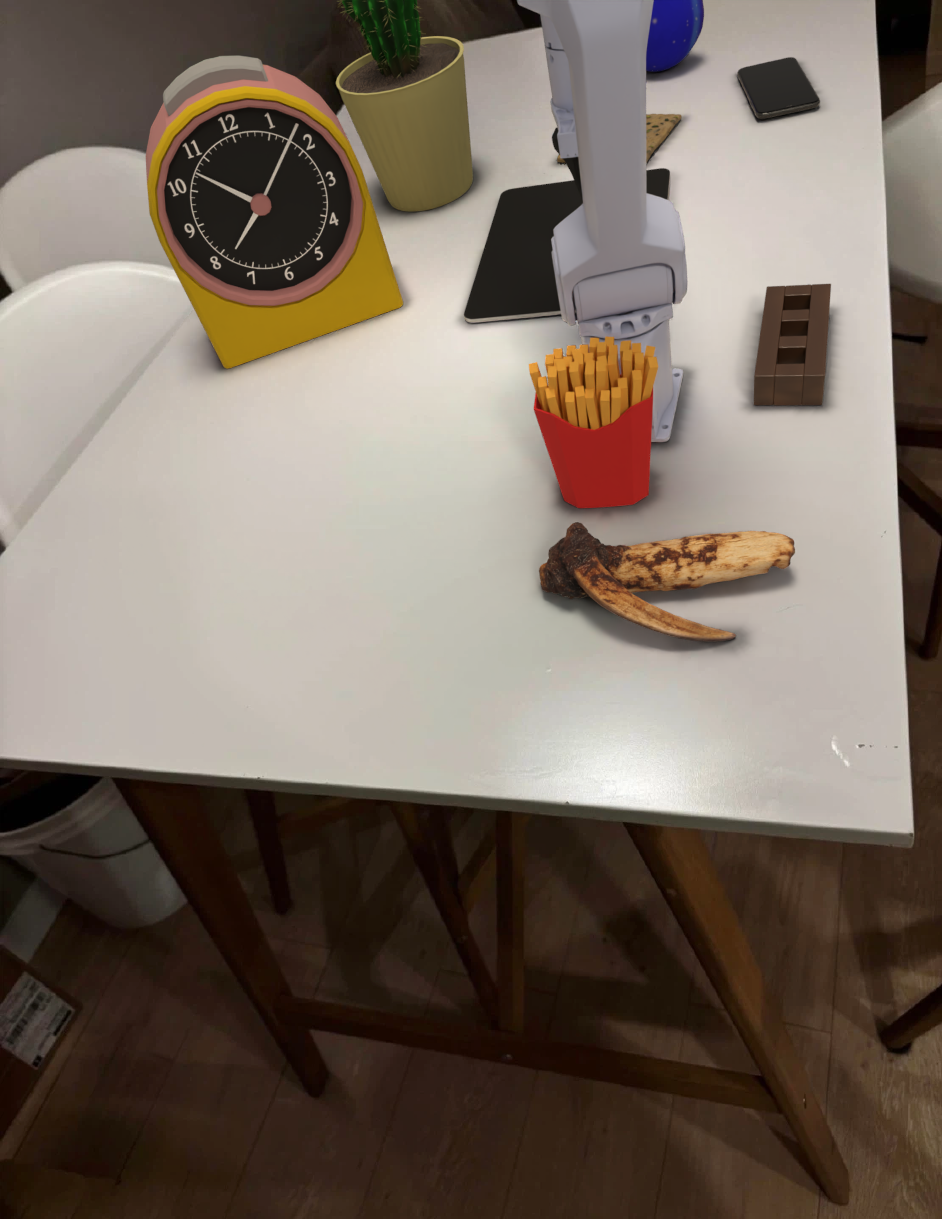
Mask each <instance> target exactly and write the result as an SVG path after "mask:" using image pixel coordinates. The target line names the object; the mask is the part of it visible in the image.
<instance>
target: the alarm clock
mask: <svg viewBox="0 0 942 1219" xmlns="http://www.w3.org/2000/svg"><path fill="white" fill-rule="evenodd" d="M162 99H163V100H162V101H163V103H162V105H161V107H160V109H159V111H158V112H157V114H156V116H155V118H154V120H153V122H152V124H151V127H150V129H149V136H148V139H147V140H148V141H147V146H146V152H145V171H146V172H145V174H146V189H147V199H148V214H149V216H150V219H151V222H152V225H153V227H154V230H155V234H156V236H157V238H158V241H159V244H160V246H161V247H162V250H163V251H164V253H165V255H166V257H167V260H168V261H169V264H170V265H171V267H172V269H173V271H174V273H175V274H176V277H177V280H178V281H179V282H180V285H181V287H182V289H183V290H184V292H185V294H186V296H187V298H188V300H189V302H190V304H191V306H192V308H193V310H194V312H195V314H196V316H197V318H198V320H199V321H200V324H201V326H202V328H203V330H204V332H205V333H206V335H207V338H208V339H209V341H210V343H211V345H212V347H213V350H214V351H215V353H216V355H217V357H218V359H219V361H220V363H221V365H222V366H223V368H224V369H232V368H235V367H238V366H240V365H243V364H246V363H248V362H251V361H255V360H257V359H260V358H263V357H266V356H269V355H271V354H274V353H276V352H280V351H282V350H285V349H288V348H290V347H293V346H297V345H299V344H302V343H304V342H308V341H310V340H314V339H316V338H319V337H321V336H324V335H327V334H330V333H332V332H333V333H334V332H336V331H339V330H341V329H344V328H347V327H350V326H352V325H355V324H358V323H361V322H363V321H366V320H370V319H372V318H375V317H378V316H380V315H383V314H386V313H388V312H391V311H394V310H398V309H400V308H401V307H403V305H404V300H403V297H402V293H401V290H400V287H399V284H398V281H397V278H396V274H395V271H394V268H393V264H392V262H391V261H392V260H391V258H390V256H389V252H388V249H387V245H386V242H385V239H384V236H383V232H382V229H381V226H380V223H379V219H378V216H377V213H376V209H375V206H374V203H373V200H372V197H371V193H370V190H369V187H368V184H367V181H366V178H365V175H364V171H363V168H362V166H361V164H360V162H359V159H358V157H357V156H356V153H355V151H354V149H353V147H352V145H351V142H350V141H349V138H348V136H347V134H346V132H345V130H344V128H343V126H342V124H341V122H340V120H339V118H338V116H337V115H336V114H335V112H334V111H333V109H332V108H330V106H329V105H328V104H327V103H326V101H325V99H323V97H322V96H321V95H320V94H319V93H318V92H316V90H314V89H313V88H311V87H310V86H309V85H307V84H306V83H304V82H303V81H302V80H301V79H299V78H298V77H297V76H296V75H292V74H290V73H288V72H285V71H282V70H280V69H278V68H275V67H272V66H270V65H268V64H263V62H262V60H261V59H260V58H258V57H251V56H245V55H219V56H215V57H211V58H207V59H204V60H202V61H200V62H197V63H195V64H193V65H190V66H189V67H188V68H187V69H185V70H184V71H182V72H181V73H180V74H179V75H177V77H175V78H174V79H173V81H171V83H170V84H169V85H168V86H167V87H166V88H165V89H164V91H163V93H162Z"/></svg>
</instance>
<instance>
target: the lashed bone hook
mask: <svg viewBox="0 0 942 1219" xmlns="http://www.w3.org/2000/svg"><path fill="white" fill-rule="evenodd" d="M795 554H796V548H795V541H794V538H792V537H790V536H788V535H786V534H783V533H779V532H774V531H771V532H770V531H765V530H760V531H759V530H758V531H757V530H747V531H746V530H745V531H743V530H742V531H733V532H732V531H731V532H720V533H719V532H717V533H704V534H699V535H698V534H697V535H688V536H683V537H681V538H673V539H667V540H656V541H651V542H650V541H649V542H642V543H638V544H632V545H631V544H630V545H626V544H625V545H624V544H618V545H611V544H605V543H602V542H601V540H600V539H599V538H597V537H594V536H593V535H592V533H590V532H589V530H588V528H587V527H586V526H584V524H583V523H582V522H579V521H575V522H572V523H570V525H569V526H568V527H567V528H566V533H565V536H563V537H561V538H560V539H559V540H558V541H557V542H556V543H555V544H553V545H552V546H551V547H550V548H549V549H548V554H547V557H548V559H547V560H546V562H545V563H542V564H541V565H540V566H539V567H538V574H539V575H538V576H539V581H540V582H539V583H540V588H541V590H542V591H543V592H545V593H549V594H550V593H552V594H553V595H561V597H562V598H568V599H570V600H573V599H583V598H586V597H590V598H591V599H592V600H593V601H594V602H595V603H596V604H598V605H599V606H600V607H602V608H604V609H605V610H607V611H608V612H610V613H611V614H614V615H615V616H617V617H619V618H621V619H623V620H625V621H627V622H630V623H632V624H635V625H637V626H639V627H642V628H644V629H647V630H649V631H652V632H655V633H657V634H658V633H659V634H662V635H664V636H668V637H673V638H676V639H682V640H686V641H693V642H694V641H695V642H702V643H703V642H704V643H707V642H714V643H715V642H725V641H729V640H733V639H735V638H736V637H737V634H736V633H734V632H731V631H727V630H722V629H721V628H715V627H712V626H707V625H705V624H702V623H700V622H695V621H693V620H689V619H687V618H683V617H681V616H679V615H676V614H674V613H671V612H669V611H667V610H664V609H663V608H660V607H658V606H656V605H653V604H652V603H649V602H647V601H646V600H644V599H642V598H640V597H639V596H637V595H635V593H644V592H655V591H662V592H669V591H680V590H690V589H691V590H694V589H698V588H702V587H704V586H705V585H709V584H715V583H721V582H727V581H728V582H732V581H734V580H738V579H743V578H745V577H752V576H757V575H762V574H768V573H769V572H770V570H771V568H778V569H780V570H785V569H787V568H788V567H790V565H791V563H792V562H791V560H792V557H793V556H795Z"/></svg>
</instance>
